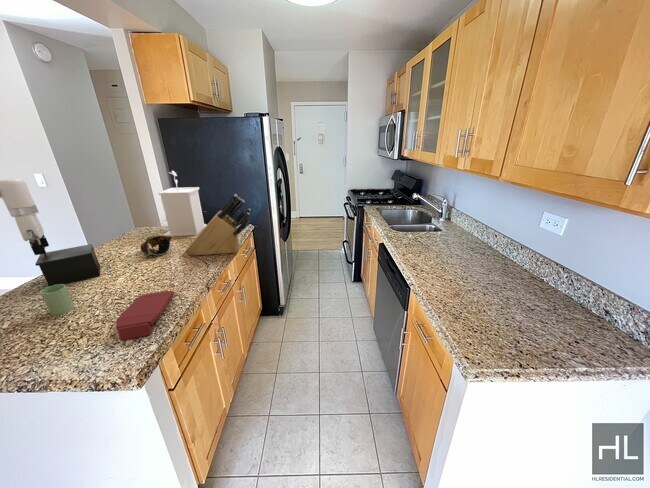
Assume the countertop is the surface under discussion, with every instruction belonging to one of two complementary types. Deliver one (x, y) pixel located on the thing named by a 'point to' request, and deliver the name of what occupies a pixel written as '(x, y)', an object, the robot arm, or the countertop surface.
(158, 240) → the pot
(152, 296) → the carton
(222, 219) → the knife block
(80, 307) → the countertop surface
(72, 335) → the countertop surface
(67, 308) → the cup
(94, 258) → the box
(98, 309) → the countertop surface
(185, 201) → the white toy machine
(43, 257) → the lid
